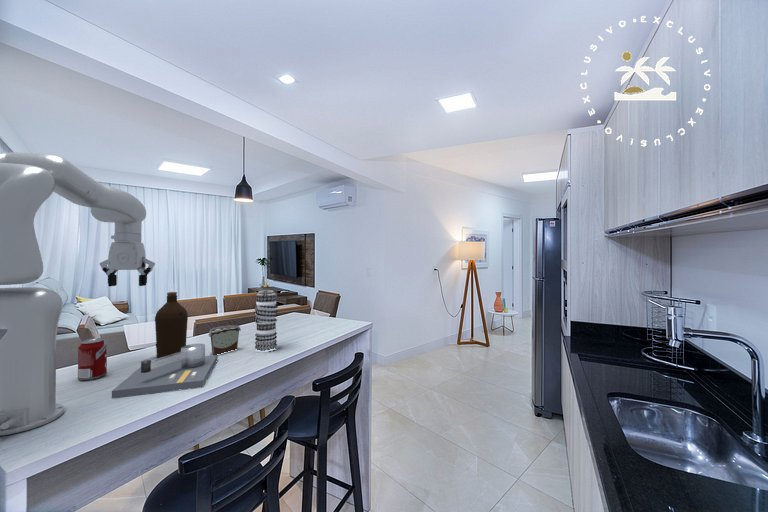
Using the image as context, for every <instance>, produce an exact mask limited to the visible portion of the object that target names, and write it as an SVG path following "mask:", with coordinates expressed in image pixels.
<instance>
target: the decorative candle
mask: <svg viewBox="0 0 768 512" xmlns="http://www.w3.org/2000/svg"><path fill="white" fill-rule="evenodd" d="M255 295H256V301H255V304H256V306H255V307H254V314H255V316H254V318H255V320H254V322H255V324H256V329H255V334H254V335H255V338H254V339H255V341H254V344H255V346H254V348H255V350H256V349H257V350H260V351H265V350H270V349H274V348H275V347H276V348H277V346H278V344H277V342H278V340H277V337H278V336H277V334H278V332H277V325H276V323H277V322H278V319H277V318H276V317H278V310H276V309H277V308H278V307H279V306H278V303H277V293H276V292H275V291H274V290H272V289H261V290H259V291H257V293H256V294H255Z"/></svg>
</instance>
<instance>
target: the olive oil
mask: <svg viewBox="0 0 768 512" xmlns="http://www.w3.org/2000/svg"><path fill="white" fill-rule="evenodd" d="M177 294H178V292H177V291H168V292H166V302H165V304H163V305H162V306H161V307H160V308H159V309H158V310H157V312H156V314H155V316H154V326H155V327H154V329H155V349H156V359H158V358H161V357H164V356H168V355H171V354H174V353H178V352H181V347H183V346H186V345H187V336H188V335H187V334H188V333H187V332H188V319H189V317H188V316H189V314H188V312H187V309H186V308H185V307H184V306H183V305H181V303H179V302H178V295H177Z"/></svg>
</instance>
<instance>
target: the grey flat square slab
mask: <svg viewBox="0 0 768 512" xmlns="http://www.w3.org/2000/svg"><path fill="white" fill-rule="evenodd" d="M216 361H217V362H218V355H205V363H204V364H202V365H200V366H196V367H190V368H184V367H181V360H178V361H175V362H172V363H169V364H166V365H163V366H160V367H157V368H154V369H151V371H150V372H147V373H141V366H139V368H138V369H136V370H135V371H134V372H133V373H132V374H131V375H129V376H128V377H127V378H126V379H124V380H123V381H122V382H121V383H120V384H118V385H117V386H115V388H114V389H112V390H111V399H116V398H118V399H119V398H125V397H130V396H131V397H132V396H141V395H147V394H148V395H149V394H150V395H151V394H158V393H165V392H174V391H180V390H179V389H182V390H188V388H191V389H198V388H197V387H199V388H203V387H204V386H205V384H206V382H207V380H208V379H209V377H208V376H210V375H209V374H211V373H212V371H213V369H214V368H215V366H214V365H216V364H217V362H216ZM215 363H216V364H215ZM203 385H204V386H203ZM173 390H174V391H173ZM157 392H158V393H157Z"/></svg>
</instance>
